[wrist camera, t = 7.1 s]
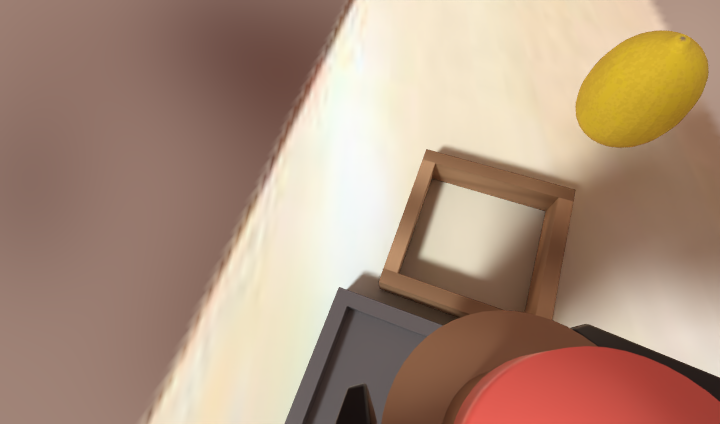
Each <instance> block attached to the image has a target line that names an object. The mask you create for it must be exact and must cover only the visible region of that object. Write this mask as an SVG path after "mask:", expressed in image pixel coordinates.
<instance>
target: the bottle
mask: <svg viewBox="0 0 720 424" xmlns="http://www.w3.org/2000/svg"><path fill="white" fill-rule="evenodd" d="M381 424H720V402H719V401H718V400H717V399H716V398H715V397H713V396H712V395H711V394H710V393H709V392H707V391H706V390H705V389H703V388H702V387H700V386H699V385H697V384H696V383H694V382H693V381H692V380H690V379H689V378H687V377H685V376H684V375H682V374H680V373H678V372H676V371H675V370H673V369H671V368H669V367H667V366H665V365H663V364H661V363H658V362H656V361H654V360H651V359H649V358H647V357H644V356H640V355H637V354H634V353H631V352H627V351H623V350H618V349H612V348H607V347H598V346H597V345H595V344H594V343H592V342H591V341H590V340H588V339H587V338H585V337H584V336H582V335H581V334H579V333H577V332H575V331H574V330H572V329H570V328H568V327H567V326H564V325H562V324H560V323H557V322H555V321H553V320H550V319H547V318H544V317H541V316H537V315H534V314H529V313H524V312H518V311H503V310H497V311H485V312H479V313H475V314H470V315H466V316H464V317H461V318H458V319H455V320H453V321H451V322H449V323H447V324H445V325H443V326H442V327H440V328H438V329H437V330H435V331H434V332H433V333H431V334H430V335H429V336H427V337H426V338H425V339H424V340H423V341H422V342H421V343H420V344H419V345H418V346H417V347H416V348H415V349H414V350H413V351H412V352H411V354H410V355H409V356H408V358H407V359H406V360H405V362H404V363H403V365H402V366H401V368H400V370H399V372H398V373H397V375H396V377H395V379H394V381H393V384H392V386H391V388H390V391H389V393H388V396H387V400H386V404H385V407H384V411H383V416H382V422H381Z"/></svg>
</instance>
